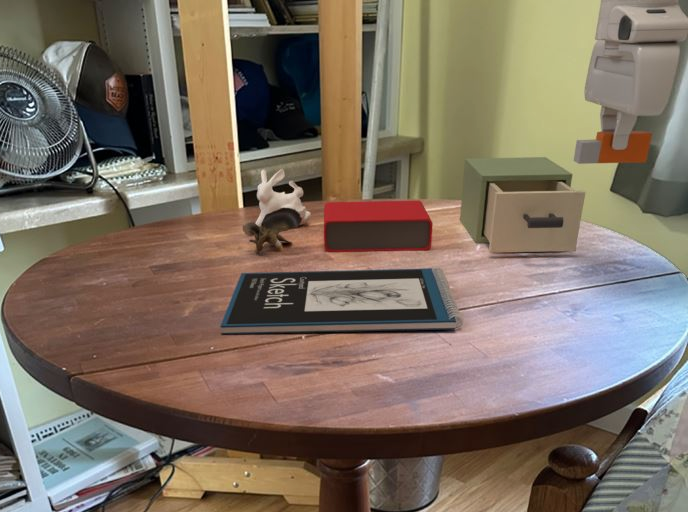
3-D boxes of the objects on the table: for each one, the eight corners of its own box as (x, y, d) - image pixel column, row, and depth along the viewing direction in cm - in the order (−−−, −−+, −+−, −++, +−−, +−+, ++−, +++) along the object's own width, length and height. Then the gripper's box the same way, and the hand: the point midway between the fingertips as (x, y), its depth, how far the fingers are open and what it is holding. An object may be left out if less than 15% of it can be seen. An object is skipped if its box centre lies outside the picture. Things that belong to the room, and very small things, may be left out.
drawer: (585, 260, 107) (596, 199, 103) (496, 261, 108) (503, 200, 103) (549, 226, 125) (557, 173, 120) (473, 228, 125) (478, 174, 120)
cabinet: (561, 241, 120) (572, 173, 114) (475, 243, 120) (482, 175, 114) (537, 218, 134) (545, 157, 128) (459, 219, 134) (464, 158, 128)
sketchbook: (241, 282, 105) (240, 268, 104) (442, 279, 104) (443, 265, 103) (221, 335, 87) (219, 319, 86) (463, 332, 86) (464, 315, 85)
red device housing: (421, 228, 129) (422, 200, 126) (430, 250, 117) (432, 219, 114) (324, 230, 129) (324, 202, 126) (324, 252, 117) (323, 221, 114)
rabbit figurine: (247, 231, 130) (243, 174, 124) (247, 221, 136) (243, 167, 131) (312, 228, 131) (310, 172, 125) (309, 218, 137) (307, 165, 131)
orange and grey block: (639, 159, 96) (644, 130, 94) (646, 162, 93) (652, 133, 91) (573, 160, 96) (577, 132, 94) (578, 163, 93) (583, 134, 91)
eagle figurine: (284, 252, 113) (312, 229, 119) (257, 213, 111) (287, 191, 116) (256, 270, 119) (284, 247, 124) (230, 233, 116) (260, 212, 122)
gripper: (582, 23, 95) (566, 136, 102) (640, 24, 77) (615, 160, 85) (629, 22, 94) (609, 135, 102) (697, 22, 77) (667, 158, 85)
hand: (612, 146), depth 93 cm, fingers closed on orange and grey block, 2 cm apart
